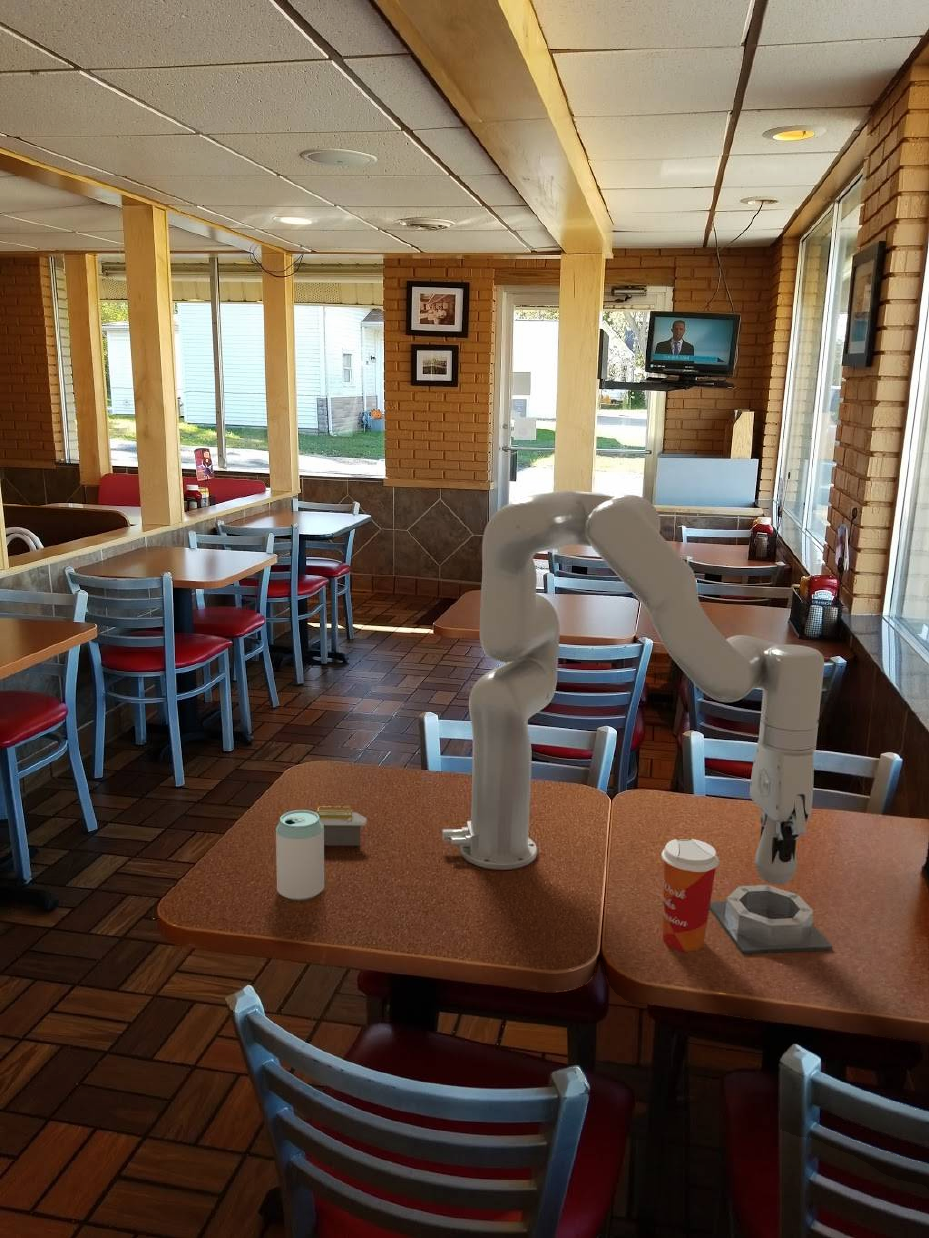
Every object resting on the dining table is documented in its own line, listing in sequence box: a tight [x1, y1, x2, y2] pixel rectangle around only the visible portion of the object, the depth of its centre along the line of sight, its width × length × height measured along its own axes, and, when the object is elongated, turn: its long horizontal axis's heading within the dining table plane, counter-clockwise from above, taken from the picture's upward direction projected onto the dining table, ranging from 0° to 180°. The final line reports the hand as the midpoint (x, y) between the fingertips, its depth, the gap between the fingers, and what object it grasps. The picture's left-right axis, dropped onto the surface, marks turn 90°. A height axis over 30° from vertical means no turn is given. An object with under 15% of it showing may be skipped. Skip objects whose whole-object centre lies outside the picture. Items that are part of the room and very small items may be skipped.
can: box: [275, 809, 325, 901], centre depth 144 cm, size 7×7×12 cm
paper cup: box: [661, 838, 720, 953], centre depth 133 cm, size 8×8×14 cm
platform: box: [316, 805, 368, 847], centre depth 161 cm, size 12×18×7 cm, turn 92°
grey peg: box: [754, 815, 798, 885], centre depth 136 cm, size 6×6×13 cm
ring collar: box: [709, 884, 833, 956], centre depth 139 cm, size 13×13×4 cm
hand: (776, 856), depth 136 cm, fingers closed on grey peg, 3 cm apart
